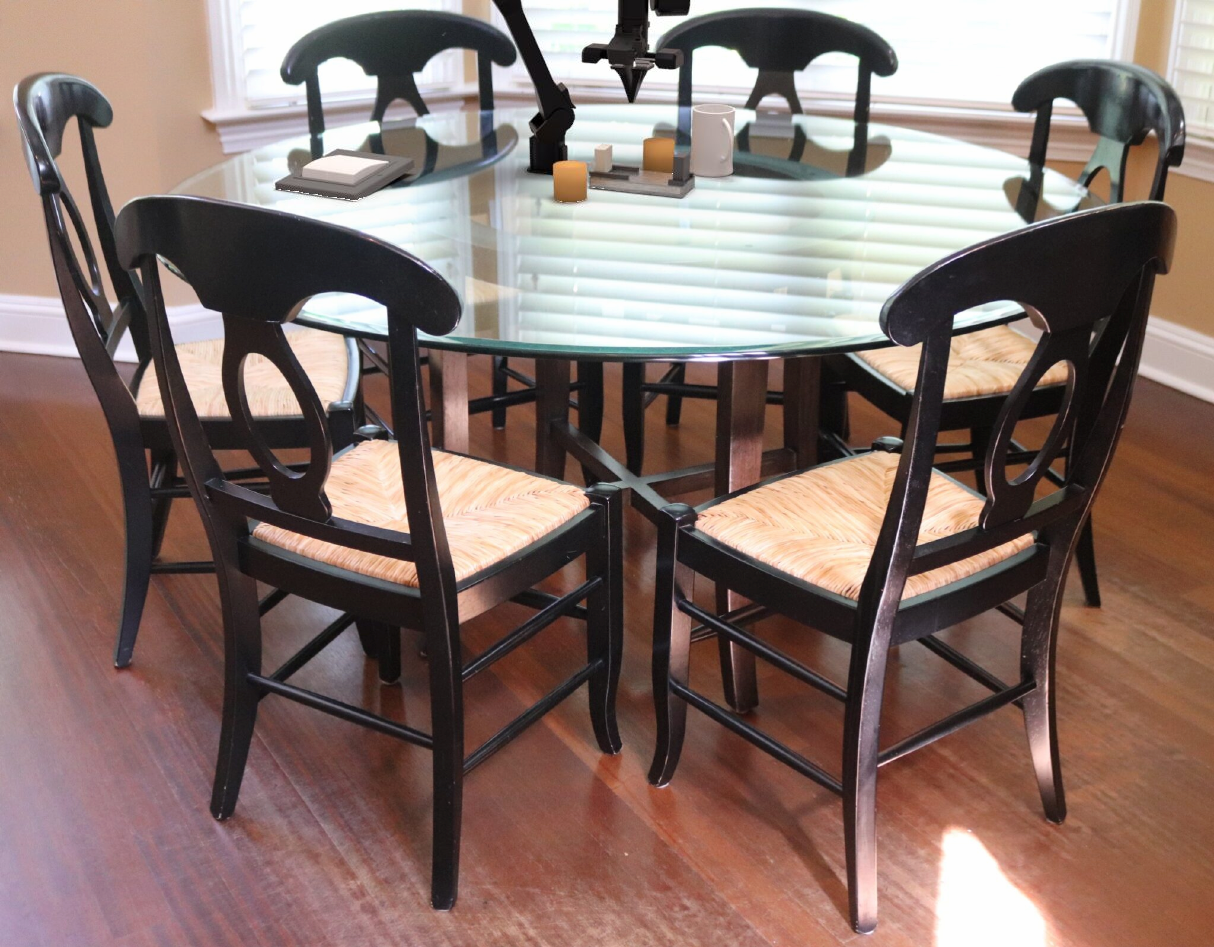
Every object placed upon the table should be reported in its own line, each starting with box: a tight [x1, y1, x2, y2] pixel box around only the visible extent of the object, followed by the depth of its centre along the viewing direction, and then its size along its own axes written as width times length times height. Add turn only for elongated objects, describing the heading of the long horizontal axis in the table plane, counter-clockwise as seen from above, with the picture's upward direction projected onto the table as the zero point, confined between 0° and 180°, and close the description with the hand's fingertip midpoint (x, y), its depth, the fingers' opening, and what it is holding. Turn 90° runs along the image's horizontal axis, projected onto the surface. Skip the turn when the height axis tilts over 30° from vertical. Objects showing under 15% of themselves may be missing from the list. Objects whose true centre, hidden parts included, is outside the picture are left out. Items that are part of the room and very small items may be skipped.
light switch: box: [274, 148, 415, 201], centre depth 233 cm, size 18×5×20 cm
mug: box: [690, 103, 736, 178], centre depth 237 cm, size 12×8×12 cm
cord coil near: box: [552, 160, 588, 203], centre depth 224 cm, size 6×6×6 cm
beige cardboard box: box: [594, 143, 613, 172], centre depth 231 cm, size 2×4×4 cm, turn 160°
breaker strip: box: [588, 163, 696, 199], centre depth 231 cm, size 18×8×3 cm, turn 70°
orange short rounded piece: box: [642, 136, 676, 173], centre depth 239 cm, size 6×6×6 cm
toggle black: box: [673, 151, 691, 180], centre depth 227 cm, size 2×4×4 cm, turn 160°
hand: (631, 102), depth 239 cm, fingers closed
